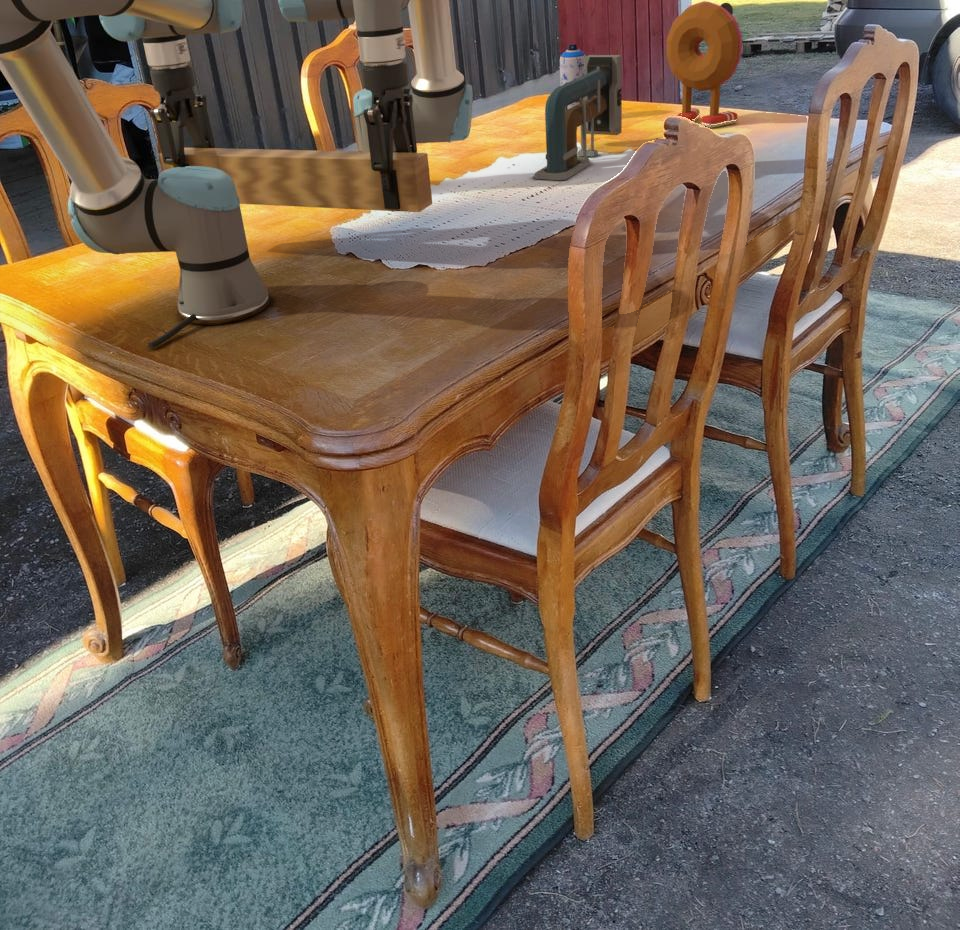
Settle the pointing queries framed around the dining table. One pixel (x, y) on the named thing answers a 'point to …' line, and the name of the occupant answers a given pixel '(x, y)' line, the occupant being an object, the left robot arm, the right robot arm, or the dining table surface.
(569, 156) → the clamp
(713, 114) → the toy
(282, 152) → the beam
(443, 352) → the dining table surface
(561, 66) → the aerosol can
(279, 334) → the dining table surface
